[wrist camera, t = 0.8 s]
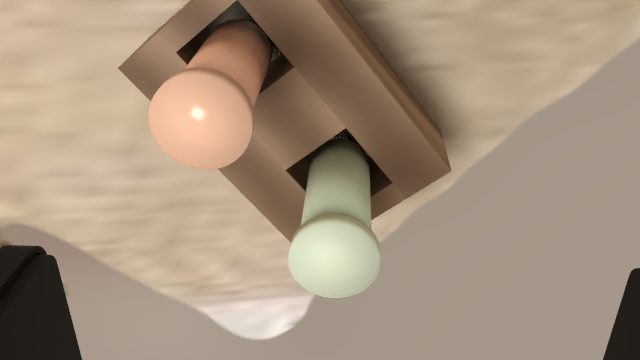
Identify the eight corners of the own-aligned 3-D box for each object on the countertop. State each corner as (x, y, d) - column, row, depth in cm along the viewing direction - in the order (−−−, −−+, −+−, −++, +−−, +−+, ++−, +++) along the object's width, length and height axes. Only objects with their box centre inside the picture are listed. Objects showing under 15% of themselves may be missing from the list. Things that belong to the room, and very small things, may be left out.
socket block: (279, -79, 37) (265, -65, 32) (440, 130, 43) (451, 170, 38) (148, 38, 41) (118, 68, 36) (313, 212, 48) (307, 259, 42)
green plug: (346, 119, 38) (342, 208, 29) (389, 171, 40) (398, 270, 31) (289, 159, 40) (269, 255, 31) (333, 207, 42) (326, 311, 33)
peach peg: (241, -5, 35) (200, 53, 26) (294, 58, 36) (273, 133, 27) (184, 45, 36) (126, 115, 27) (237, 102, 38) (199, 186, 29)
